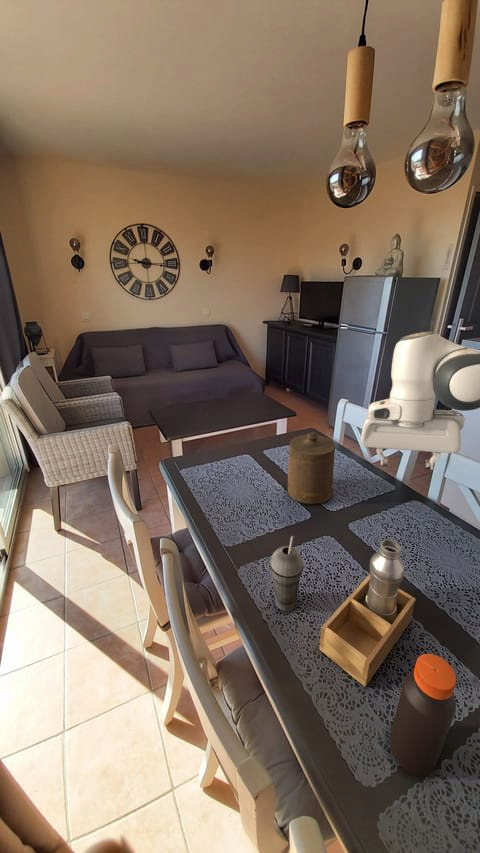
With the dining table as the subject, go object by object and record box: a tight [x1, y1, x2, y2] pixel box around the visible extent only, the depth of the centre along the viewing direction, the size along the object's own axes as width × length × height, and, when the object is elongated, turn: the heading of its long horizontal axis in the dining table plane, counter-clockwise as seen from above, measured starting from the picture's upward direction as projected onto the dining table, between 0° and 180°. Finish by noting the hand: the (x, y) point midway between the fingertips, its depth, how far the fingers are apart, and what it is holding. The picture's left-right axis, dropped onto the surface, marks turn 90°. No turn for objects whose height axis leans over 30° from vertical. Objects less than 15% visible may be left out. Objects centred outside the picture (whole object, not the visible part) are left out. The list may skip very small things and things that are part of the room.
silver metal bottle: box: [364, 539, 406, 625], centre depth 74 cm, size 6×7×20 cm
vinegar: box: [389, 653, 457, 778], centre depth 53 cm, size 7×7×20 cm
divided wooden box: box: [319, 573, 417, 688], centre depth 74 cm, size 10×19×7 cm, turn 133°
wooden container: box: [287, 431, 336, 505], centre depth 119 cm, size 15×15×22 cm
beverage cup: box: [269, 535, 305, 612], centre depth 79 cm, size 7×7×20 cm
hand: (405, 466), depth 83 cm, fingers open, 8 cm apart
